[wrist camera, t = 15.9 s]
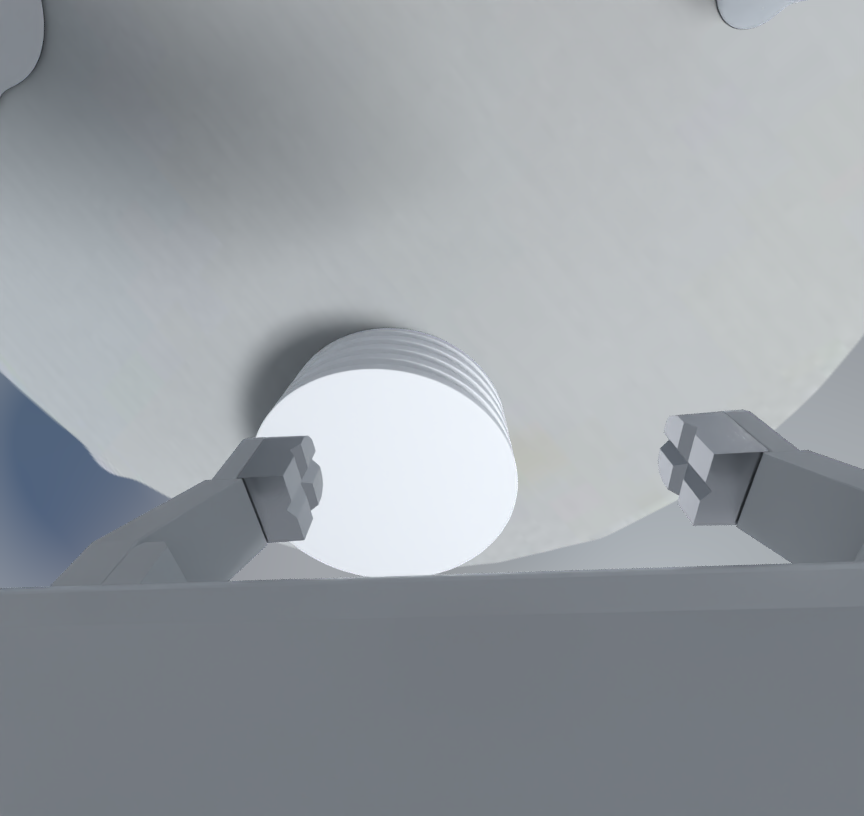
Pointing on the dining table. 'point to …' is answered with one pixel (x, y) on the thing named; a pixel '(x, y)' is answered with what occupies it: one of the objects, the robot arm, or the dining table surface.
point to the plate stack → (400, 453)
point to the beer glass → (750, 11)
